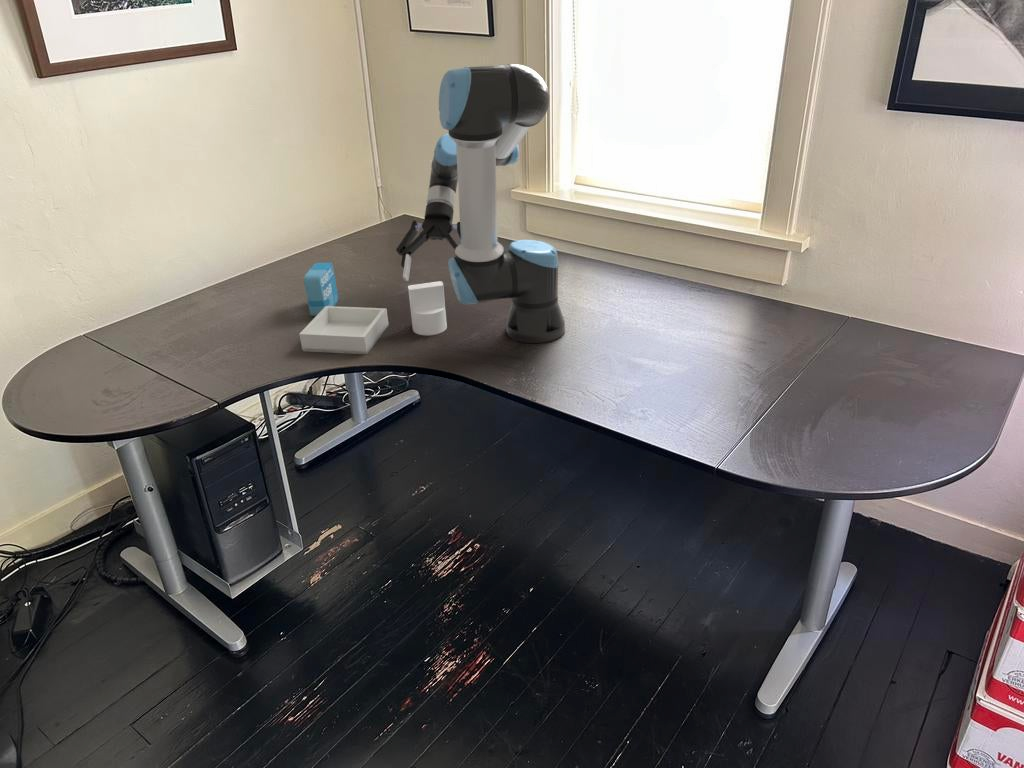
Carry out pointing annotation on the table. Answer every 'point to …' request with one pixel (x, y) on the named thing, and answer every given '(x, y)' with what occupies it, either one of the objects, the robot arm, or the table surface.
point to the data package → (320, 287)
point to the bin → (344, 330)
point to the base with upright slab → (427, 308)
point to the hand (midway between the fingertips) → (430, 280)
